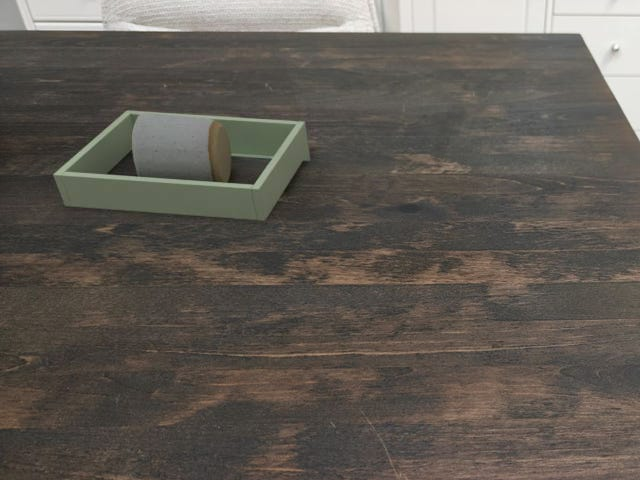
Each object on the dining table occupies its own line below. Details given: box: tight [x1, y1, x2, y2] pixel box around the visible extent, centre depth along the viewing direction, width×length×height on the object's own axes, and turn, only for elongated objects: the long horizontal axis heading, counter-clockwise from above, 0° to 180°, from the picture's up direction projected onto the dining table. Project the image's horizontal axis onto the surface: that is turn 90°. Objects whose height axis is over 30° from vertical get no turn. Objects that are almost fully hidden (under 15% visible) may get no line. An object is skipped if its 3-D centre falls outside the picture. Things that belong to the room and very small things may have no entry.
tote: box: [52, 110, 311, 222], centre depth 79 cm, size 21×16×5 cm
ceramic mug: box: [131, 113, 232, 183], centre depth 78 cm, size 11×8×8 cm
